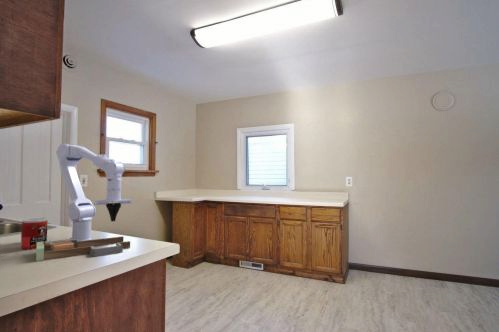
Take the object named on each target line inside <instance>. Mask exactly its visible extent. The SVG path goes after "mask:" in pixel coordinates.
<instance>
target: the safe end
mask: <svg viewBox="0 0 499 332" xmlns="http://www.w3.org/2000/svg"><path fill="white" fill-rule="evenodd" d="M35 261H36V262H38V261H45V260H44V242H43V241H42V242H37V247H36V249H35Z"/></svg>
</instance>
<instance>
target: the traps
mask: <svg viewBox="0 0 499 332" xmlns="http://www.w3.org/2000/svg"><path fill="white" fill-rule="evenodd" d="M66 241H71V242H72V243H74V248H77V242H78V241H80V240H79V239H73V240H70V239H67V240H57V241H50V242H49V243H48V245H51V243H58V242H66ZM123 250H124V249H123V245H121V244H120V243H117V246H116V245H114V246H113V245H112V246H105V247H97V248H96V246H92V247H91V252H90V255H91V256H92V257H98V256H105V255H106V256H107V255H112V254H119V253H123Z"/></svg>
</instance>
